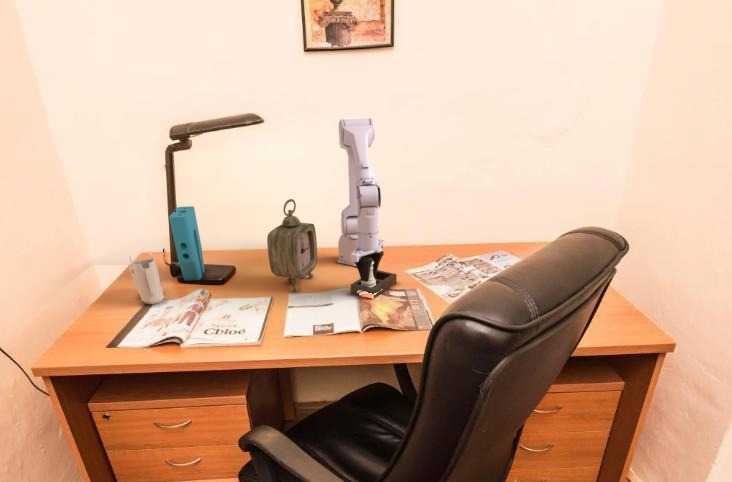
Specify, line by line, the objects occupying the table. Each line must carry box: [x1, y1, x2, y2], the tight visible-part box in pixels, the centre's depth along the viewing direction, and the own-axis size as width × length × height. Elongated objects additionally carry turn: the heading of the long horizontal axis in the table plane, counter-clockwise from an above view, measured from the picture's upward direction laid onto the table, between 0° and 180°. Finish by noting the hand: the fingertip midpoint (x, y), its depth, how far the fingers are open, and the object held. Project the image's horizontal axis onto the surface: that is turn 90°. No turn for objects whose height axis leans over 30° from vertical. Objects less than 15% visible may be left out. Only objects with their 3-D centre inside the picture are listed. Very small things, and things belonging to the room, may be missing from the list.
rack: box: [350, 269, 398, 299], centre depth 142 cm, size 14×7×3 cm, turn 148°
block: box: [168, 205, 205, 281], centre depth 148 cm, size 12×5×20 cm, turn 6°
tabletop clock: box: [266, 198, 318, 293], centre depth 140 cm, size 14×9×25 cm, turn 161°
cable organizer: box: [128, 252, 165, 305], centre depth 135 cm, size 7×12×12 cm, turn 29°
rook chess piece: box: [361, 258, 376, 288], centre depth 137 cm, size 4×4×8 cm
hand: (368, 278), depth 138 cm, fingers closed on rook chess piece, 3 cm apart
